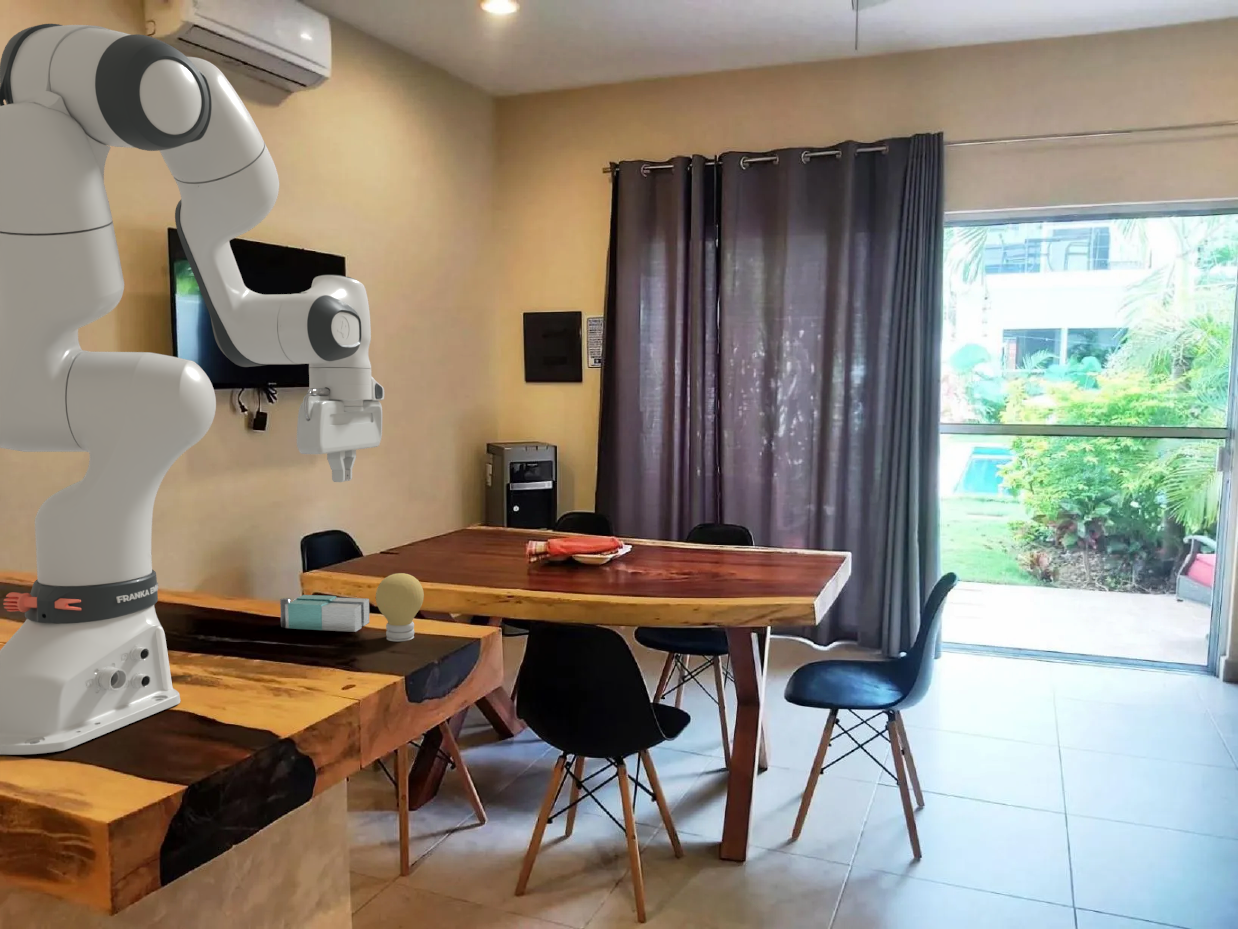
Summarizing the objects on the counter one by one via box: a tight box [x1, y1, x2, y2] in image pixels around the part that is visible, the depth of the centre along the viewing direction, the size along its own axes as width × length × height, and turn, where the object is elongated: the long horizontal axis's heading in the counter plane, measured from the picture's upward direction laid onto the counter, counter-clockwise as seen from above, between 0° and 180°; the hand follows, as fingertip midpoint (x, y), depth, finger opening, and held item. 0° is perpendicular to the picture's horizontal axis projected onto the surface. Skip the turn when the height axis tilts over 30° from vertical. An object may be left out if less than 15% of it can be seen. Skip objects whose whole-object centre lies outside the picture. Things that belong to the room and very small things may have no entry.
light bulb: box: [375, 572, 425, 642], centre depth 123 cm, size 6×6×10 cm
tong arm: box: [293, 594, 370, 627], centre depth 130 cm, size 2×10×4 cm, turn 84°
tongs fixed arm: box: [279, 597, 363, 633], centre depth 128 cm, size 2×12×4 cm, turn 81°
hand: (342, 481), depth 134 cm, fingers closed
